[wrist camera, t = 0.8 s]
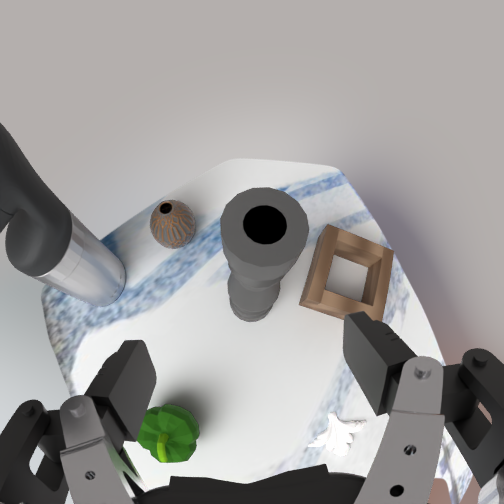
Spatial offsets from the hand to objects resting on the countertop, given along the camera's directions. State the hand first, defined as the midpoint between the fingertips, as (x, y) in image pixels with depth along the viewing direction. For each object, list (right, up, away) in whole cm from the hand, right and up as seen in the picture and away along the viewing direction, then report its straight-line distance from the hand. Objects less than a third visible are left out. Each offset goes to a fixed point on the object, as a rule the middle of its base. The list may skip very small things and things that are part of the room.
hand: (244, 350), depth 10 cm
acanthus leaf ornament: (+13, -25, +24) cm, 37 cm away
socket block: (+15, -1, +32) cm, 36 cm away
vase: (-12, +7, +34) cm, 36 cm away
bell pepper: (-11, -22, +23) cm, 33 cm away
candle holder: (0, -4, +31) cm, 31 cm away
